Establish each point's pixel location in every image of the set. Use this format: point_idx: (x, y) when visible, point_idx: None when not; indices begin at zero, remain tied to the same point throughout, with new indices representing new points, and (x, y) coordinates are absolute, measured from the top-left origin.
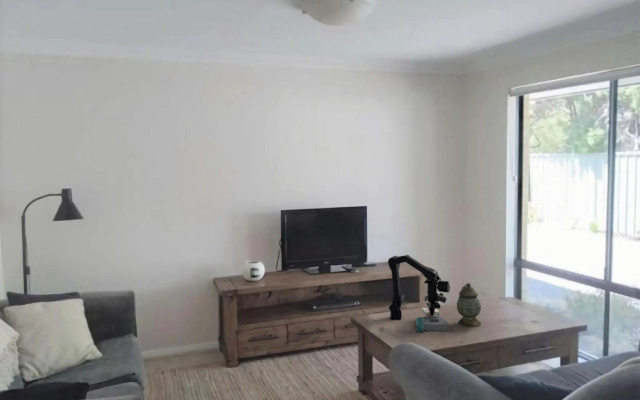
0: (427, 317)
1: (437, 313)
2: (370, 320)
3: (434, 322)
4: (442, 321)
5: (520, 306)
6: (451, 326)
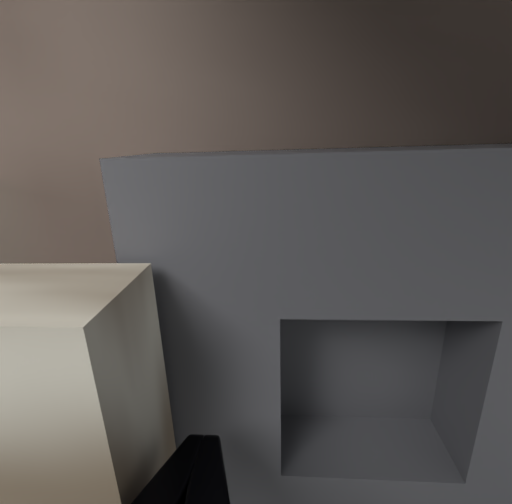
0: None
1: (118, 352)
2: None
3: (504, 422)
4: (475, 249)
5: None
6: (400, 25)
